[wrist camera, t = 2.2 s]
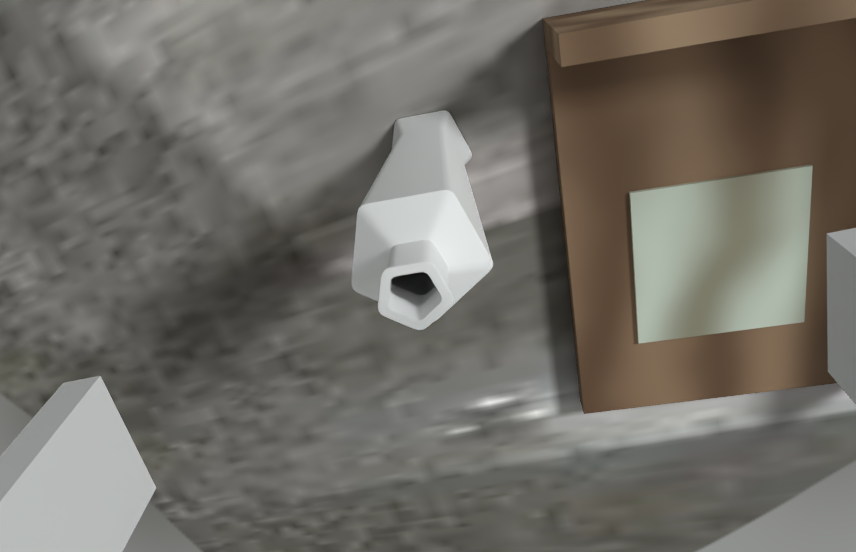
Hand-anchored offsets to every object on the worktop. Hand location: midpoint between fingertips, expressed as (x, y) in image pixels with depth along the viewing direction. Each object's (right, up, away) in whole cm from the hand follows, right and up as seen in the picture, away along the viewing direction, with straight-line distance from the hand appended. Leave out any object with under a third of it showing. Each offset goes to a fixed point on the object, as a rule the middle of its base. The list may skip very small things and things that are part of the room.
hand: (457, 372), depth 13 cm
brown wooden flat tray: (+14, +5, +22) cm, 26 cm away
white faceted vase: (-1, +8, +21) cm, 22 cm away
